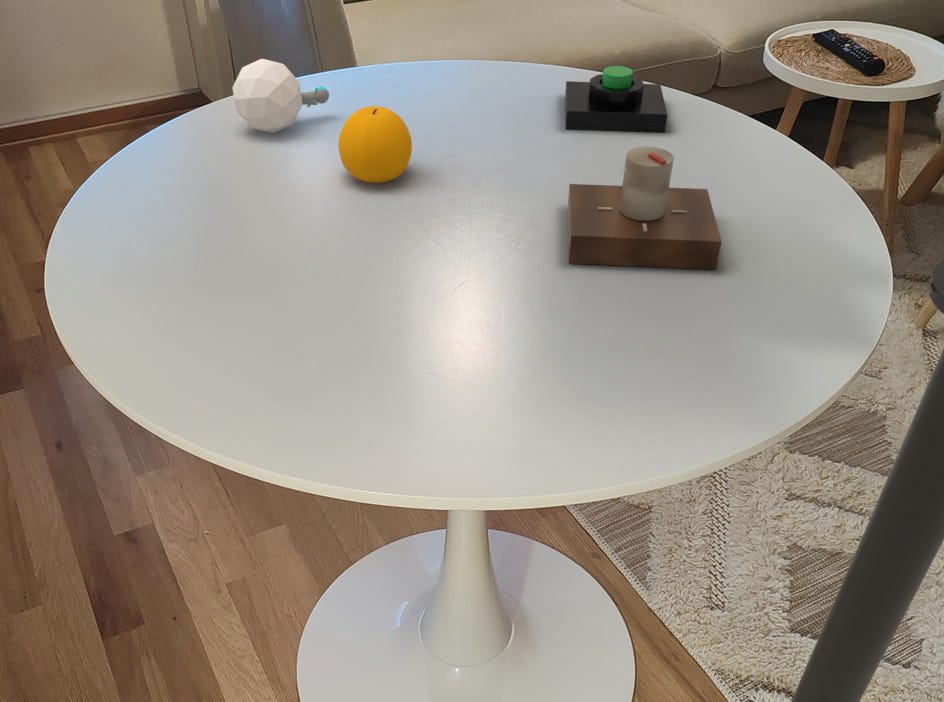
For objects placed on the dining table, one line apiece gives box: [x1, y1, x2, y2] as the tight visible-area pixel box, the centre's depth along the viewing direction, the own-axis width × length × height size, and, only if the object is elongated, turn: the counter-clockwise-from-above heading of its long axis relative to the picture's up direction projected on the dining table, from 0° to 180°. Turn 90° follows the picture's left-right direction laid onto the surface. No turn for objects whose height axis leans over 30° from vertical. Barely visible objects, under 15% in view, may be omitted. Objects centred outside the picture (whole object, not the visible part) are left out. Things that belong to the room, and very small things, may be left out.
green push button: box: [602, 65, 634, 89], centre depth 113 cm, size 4×4×2 cm
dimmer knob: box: [620, 146, 675, 221], centre depth 88 cm, size 4×4×6 cm
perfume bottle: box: [232, 58, 330, 134], centre depth 110 cm, size 8×8×12 cm
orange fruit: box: [337, 105, 413, 184], centre depth 100 cm, size 8×8×8 cm
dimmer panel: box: [566, 183, 722, 271], centre depth 91 cm, size 14×11×3 cm
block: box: [564, 73, 668, 133], centre depth 114 cm, size 12×10×4 cm
